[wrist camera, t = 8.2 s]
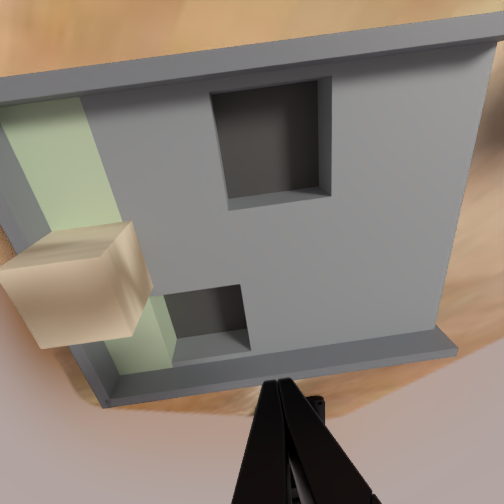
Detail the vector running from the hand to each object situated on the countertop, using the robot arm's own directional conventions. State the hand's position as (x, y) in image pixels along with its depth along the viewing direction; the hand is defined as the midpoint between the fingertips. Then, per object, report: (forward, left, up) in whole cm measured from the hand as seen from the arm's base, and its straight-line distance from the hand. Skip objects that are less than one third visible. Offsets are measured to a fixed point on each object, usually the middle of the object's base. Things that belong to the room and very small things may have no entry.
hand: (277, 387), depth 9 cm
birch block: (0, +9, -10) cm, 13 cm away
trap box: (0, -1, -13) cm, 13 cm away
